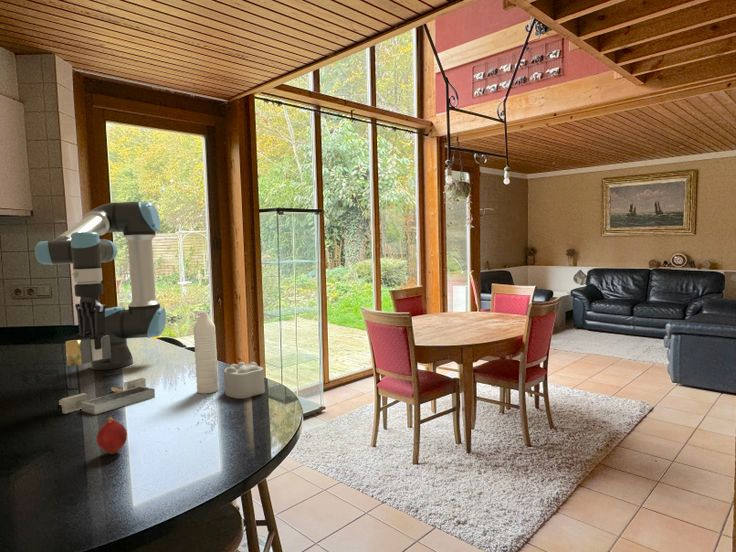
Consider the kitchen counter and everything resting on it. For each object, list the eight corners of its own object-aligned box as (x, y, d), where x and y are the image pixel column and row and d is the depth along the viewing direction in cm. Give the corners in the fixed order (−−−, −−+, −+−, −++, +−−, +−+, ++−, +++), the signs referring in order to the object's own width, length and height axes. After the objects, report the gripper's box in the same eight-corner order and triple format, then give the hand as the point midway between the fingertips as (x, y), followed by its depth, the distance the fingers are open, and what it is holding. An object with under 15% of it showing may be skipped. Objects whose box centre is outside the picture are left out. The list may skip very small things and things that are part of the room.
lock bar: (105, 356, 153) (103, 334, 153) (112, 357, 151) (110, 335, 150) (64, 365, 143) (62, 341, 143) (71, 366, 141) (69, 342, 140)
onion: (105, 449, 108) (103, 413, 107) (132, 447, 108) (129, 412, 108) (92, 460, 102) (90, 423, 101) (121, 458, 102) (118, 421, 102)
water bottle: (221, 391, 150) (217, 311, 149) (200, 395, 147) (195, 313, 145) (213, 385, 157) (209, 309, 156) (192, 389, 154) (188, 311, 153)
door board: (128, 387, 160) (127, 375, 159) (162, 394, 149) (161, 381, 149) (48, 408, 140) (47, 394, 139) (81, 418, 129) (80, 404, 129)
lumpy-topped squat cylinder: (238, 400, 140) (236, 370, 140) (217, 392, 150) (215, 364, 149) (269, 391, 148) (267, 363, 147) (247, 384, 157) (246, 358, 157)
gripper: (62, 283, 148) (68, 359, 149) (89, 284, 139) (95, 364, 141) (87, 281, 154) (93, 354, 156) (115, 282, 145) (120, 359, 147)
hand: (94, 359), depth 148 cm, fingers closed on lock bar, 3 cm apart
